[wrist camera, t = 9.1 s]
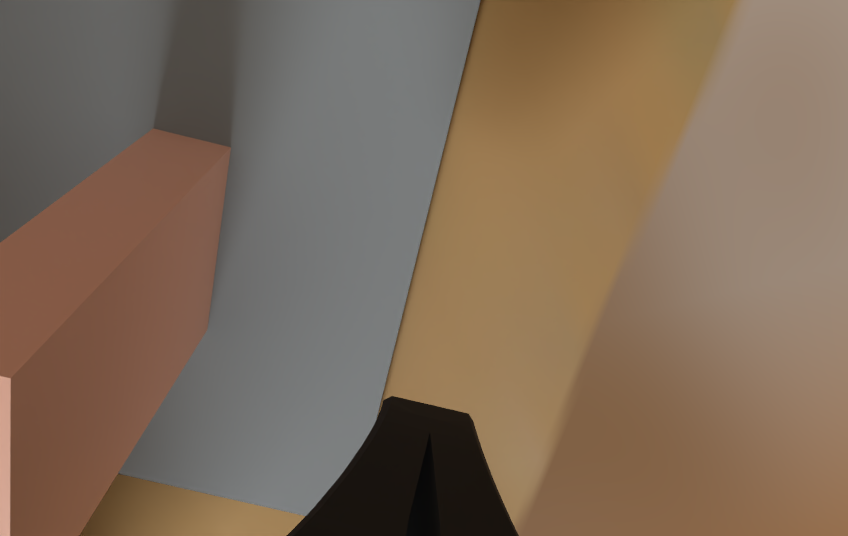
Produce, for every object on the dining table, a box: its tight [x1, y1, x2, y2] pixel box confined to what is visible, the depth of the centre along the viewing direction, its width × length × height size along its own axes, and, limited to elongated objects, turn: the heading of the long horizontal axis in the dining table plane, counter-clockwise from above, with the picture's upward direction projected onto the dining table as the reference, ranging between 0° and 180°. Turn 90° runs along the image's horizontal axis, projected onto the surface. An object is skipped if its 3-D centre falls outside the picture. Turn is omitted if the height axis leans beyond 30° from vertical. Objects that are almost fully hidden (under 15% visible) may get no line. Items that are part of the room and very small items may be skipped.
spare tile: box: [0, 129, 231, 536], centre depth 14 cm, size 4×2×8 cm, turn 167°
